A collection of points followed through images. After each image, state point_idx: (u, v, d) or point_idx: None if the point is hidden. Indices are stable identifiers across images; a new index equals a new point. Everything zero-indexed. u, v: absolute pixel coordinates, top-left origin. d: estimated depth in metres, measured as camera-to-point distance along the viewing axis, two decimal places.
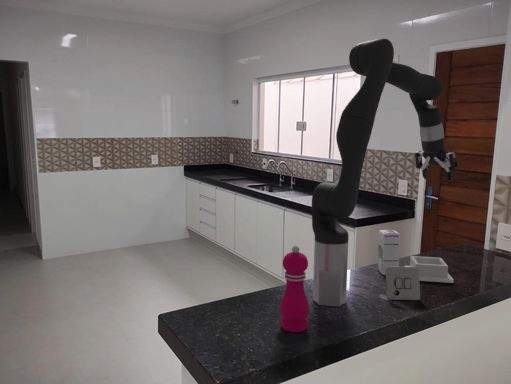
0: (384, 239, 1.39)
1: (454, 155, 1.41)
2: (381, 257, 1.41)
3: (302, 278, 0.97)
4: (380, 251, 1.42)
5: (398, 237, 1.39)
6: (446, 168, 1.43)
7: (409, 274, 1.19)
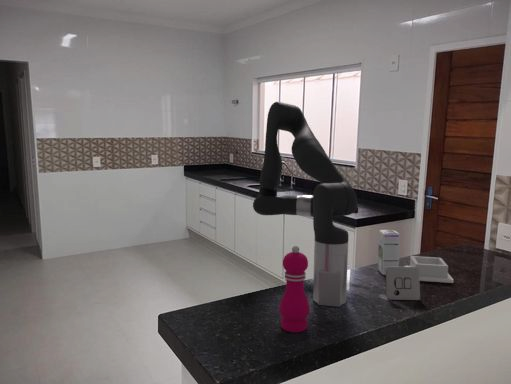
0: (384, 239, 1.39)
1: None
2: (381, 257, 1.41)
3: (302, 278, 0.97)
4: (380, 251, 1.42)
5: (398, 237, 1.39)
6: None
7: (409, 274, 1.19)
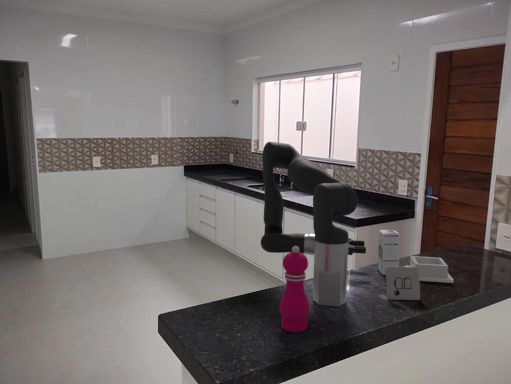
0: (384, 239, 1.39)
1: None
2: (381, 257, 1.41)
3: (302, 278, 0.97)
4: (380, 251, 1.42)
5: (398, 237, 1.39)
6: (349, 240, 1.49)
7: (409, 274, 1.19)
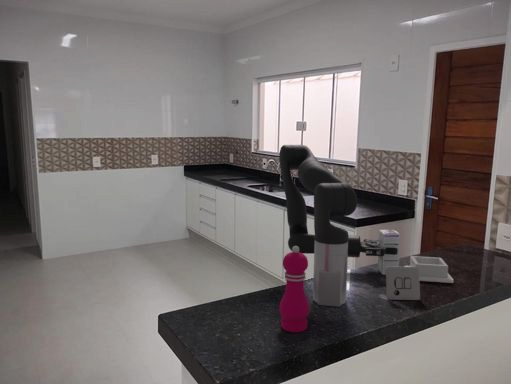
0: (384, 239, 1.39)
1: None
2: (381, 257, 1.41)
3: (302, 278, 0.97)
4: None
5: (398, 237, 1.39)
6: None
7: (409, 274, 1.19)
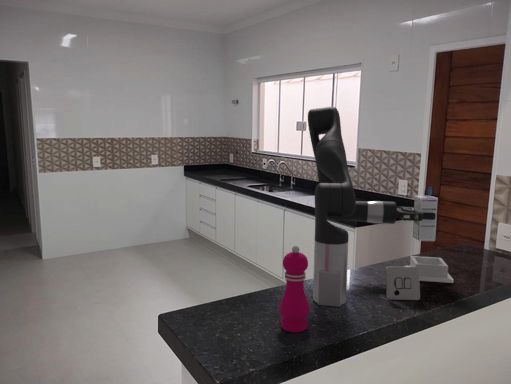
0: (421, 203, 1.36)
1: None
2: (418, 223, 1.38)
3: (302, 278, 0.97)
4: None
5: (436, 202, 1.36)
6: None
7: (409, 274, 1.19)
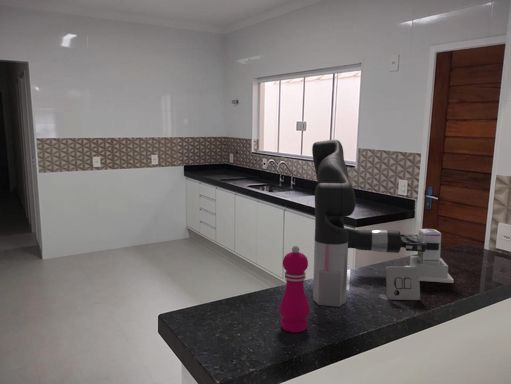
0: (425, 238, 1.36)
1: None
2: (421, 257, 1.38)
3: (302, 278, 0.97)
4: None
5: (439, 236, 1.36)
6: (417, 236, 1.44)
7: (409, 274, 1.19)
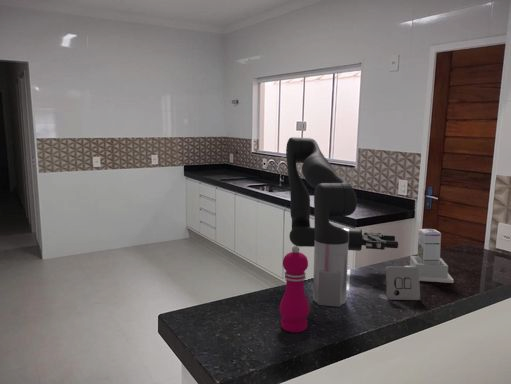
0: (424, 238, 1.36)
1: None
2: (421, 257, 1.38)
3: (302, 278, 0.97)
4: (420, 250, 1.39)
5: (439, 236, 1.36)
6: (380, 234, 1.46)
7: (409, 274, 1.19)
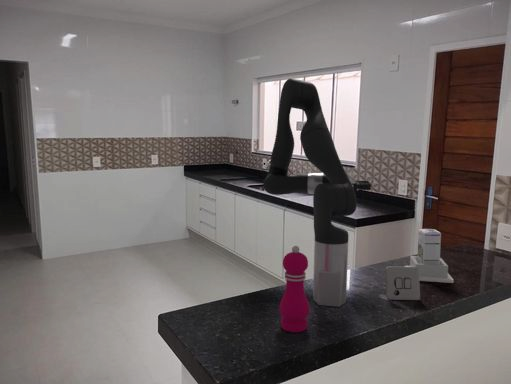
0: (424, 238, 1.36)
1: None
2: (421, 257, 1.38)
3: (302, 278, 0.97)
4: (420, 250, 1.39)
5: (439, 236, 1.36)
6: (354, 180, 1.46)
7: (409, 274, 1.19)
